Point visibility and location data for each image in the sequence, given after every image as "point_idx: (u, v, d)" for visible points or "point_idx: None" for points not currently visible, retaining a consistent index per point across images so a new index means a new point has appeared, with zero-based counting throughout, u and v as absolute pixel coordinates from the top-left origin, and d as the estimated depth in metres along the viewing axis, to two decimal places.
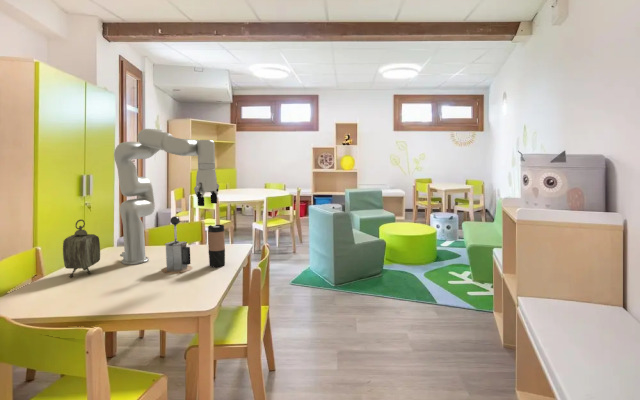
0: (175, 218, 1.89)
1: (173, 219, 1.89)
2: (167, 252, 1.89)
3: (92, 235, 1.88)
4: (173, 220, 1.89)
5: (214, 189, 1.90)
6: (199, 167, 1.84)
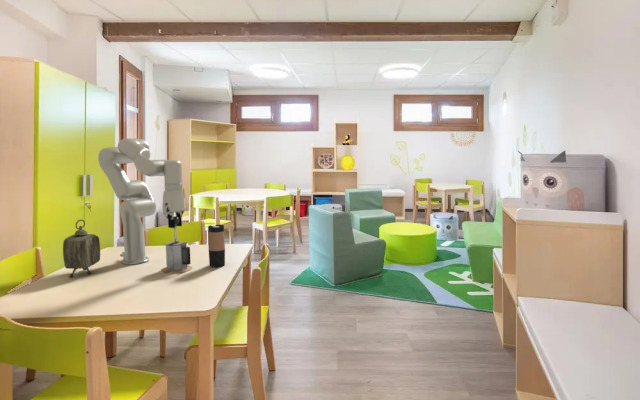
0: (175, 218, 1.89)
1: None
2: (167, 252, 1.89)
3: (92, 235, 1.88)
4: None
5: (181, 209, 1.92)
6: (166, 188, 1.86)
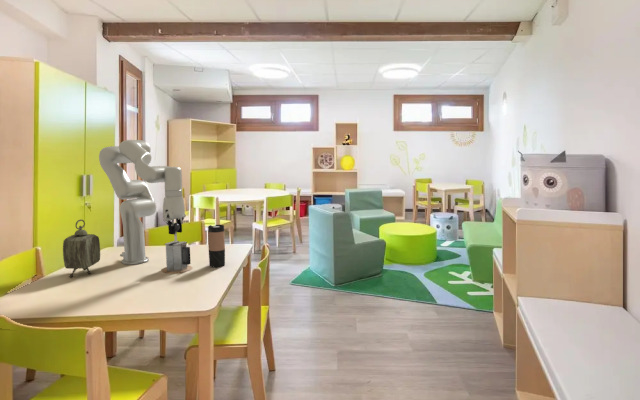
0: (175, 224, 1.90)
1: None
2: (167, 252, 1.89)
3: (92, 235, 1.88)
4: None
5: (182, 215, 1.92)
6: (166, 194, 1.86)
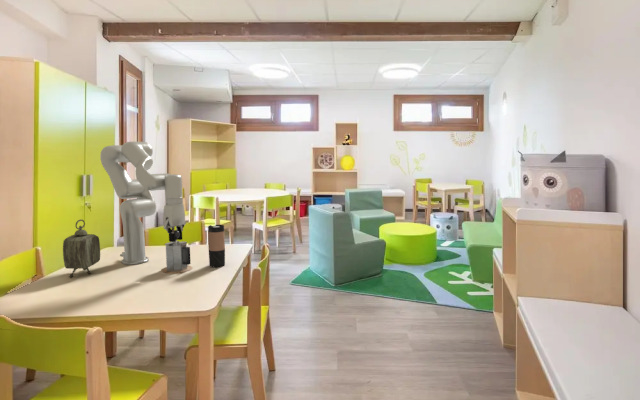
0: (176, 232, 1.90)
1: None
2: (167, 252, 1.89)
3: (92, 235, 1.88)
4: None
5: (182, 222, 1.92)
6: (166, 202, 1.87)
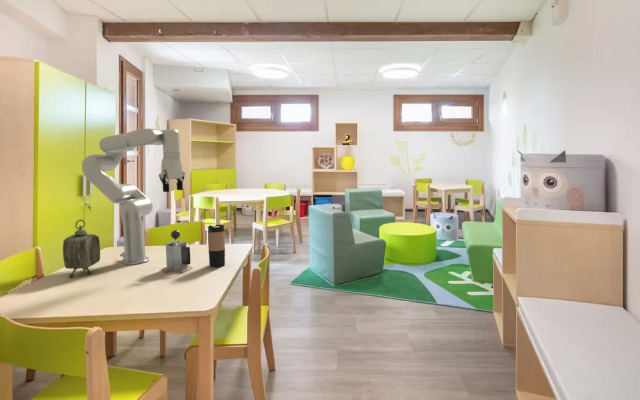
0: (176, 232, 1.90)
1: (174, 233, 1.90)
2: (167, 252, 1.89)
3: (92, 235, 1.88)
4: (174, 234, 1.89)
5: (179, 176, 2.01)
6: (164, 155, 1.95)
